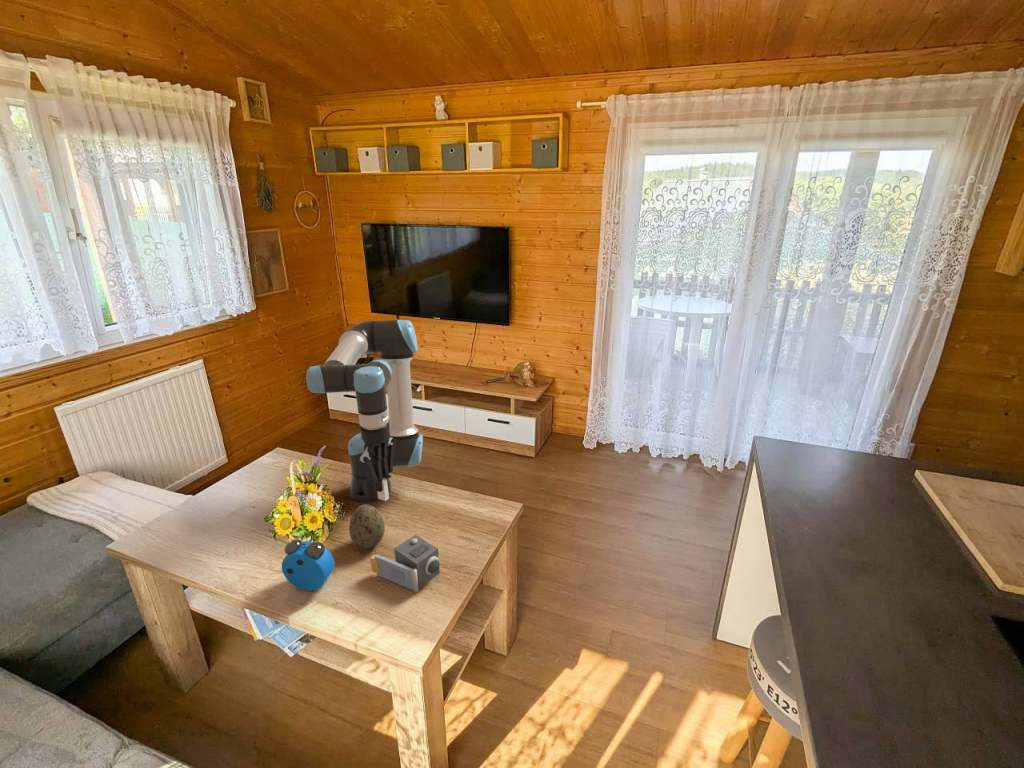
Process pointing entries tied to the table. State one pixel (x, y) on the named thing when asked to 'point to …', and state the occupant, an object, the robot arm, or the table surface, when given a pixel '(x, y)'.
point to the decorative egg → (366, 526)
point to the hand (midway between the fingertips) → (383, 498)
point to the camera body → (419, 558)
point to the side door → (395, 572)
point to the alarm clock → (307, 564)
